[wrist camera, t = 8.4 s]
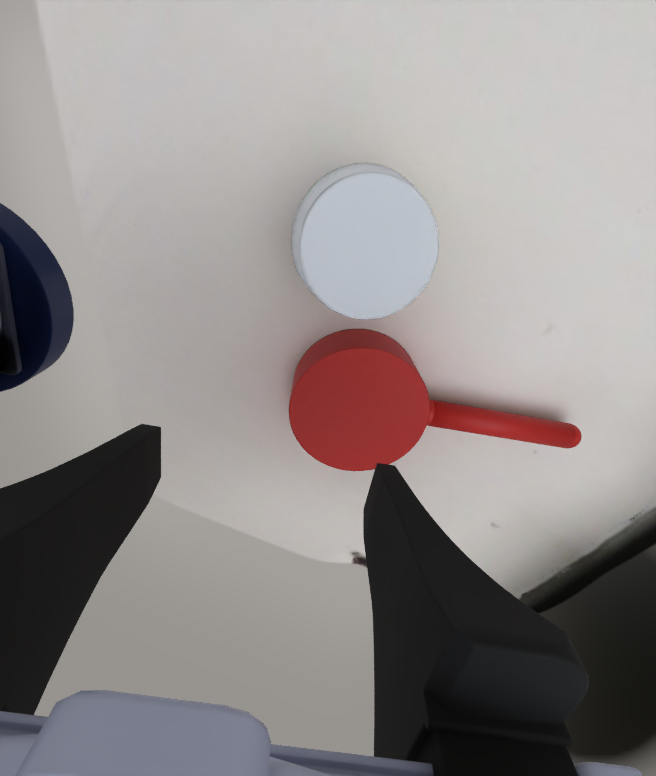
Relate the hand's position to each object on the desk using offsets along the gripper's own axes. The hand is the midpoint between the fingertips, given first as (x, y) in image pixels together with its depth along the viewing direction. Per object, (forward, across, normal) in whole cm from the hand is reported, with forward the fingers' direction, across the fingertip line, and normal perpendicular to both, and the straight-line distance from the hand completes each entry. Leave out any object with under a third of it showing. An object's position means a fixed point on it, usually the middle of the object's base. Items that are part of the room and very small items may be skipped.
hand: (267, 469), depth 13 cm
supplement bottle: (+10, -2, -7) cm, 12 cm away
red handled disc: (+10, -8, +1) cm, 13 cm away
